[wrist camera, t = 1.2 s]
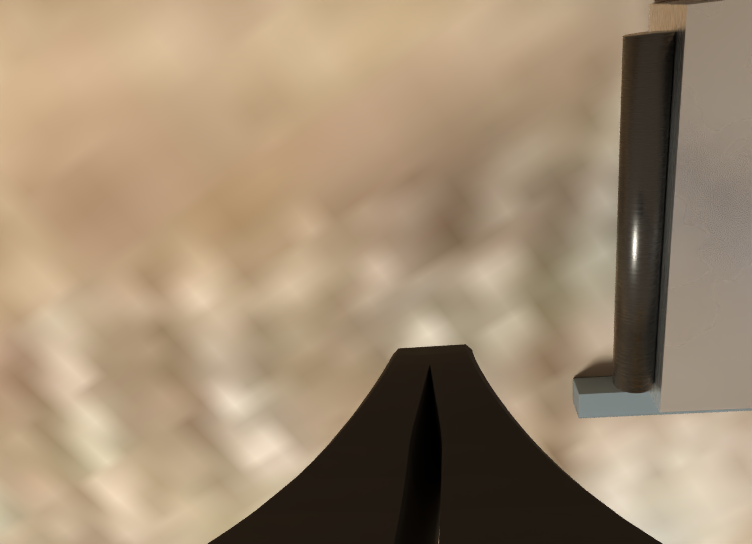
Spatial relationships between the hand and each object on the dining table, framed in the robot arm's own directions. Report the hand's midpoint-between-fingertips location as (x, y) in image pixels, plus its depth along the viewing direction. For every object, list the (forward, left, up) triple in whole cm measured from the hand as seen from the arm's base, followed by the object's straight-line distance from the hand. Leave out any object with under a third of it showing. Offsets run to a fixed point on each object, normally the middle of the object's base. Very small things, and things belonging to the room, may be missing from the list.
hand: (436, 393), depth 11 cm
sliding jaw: (-5, -5, -10) cm, 12 cm away
